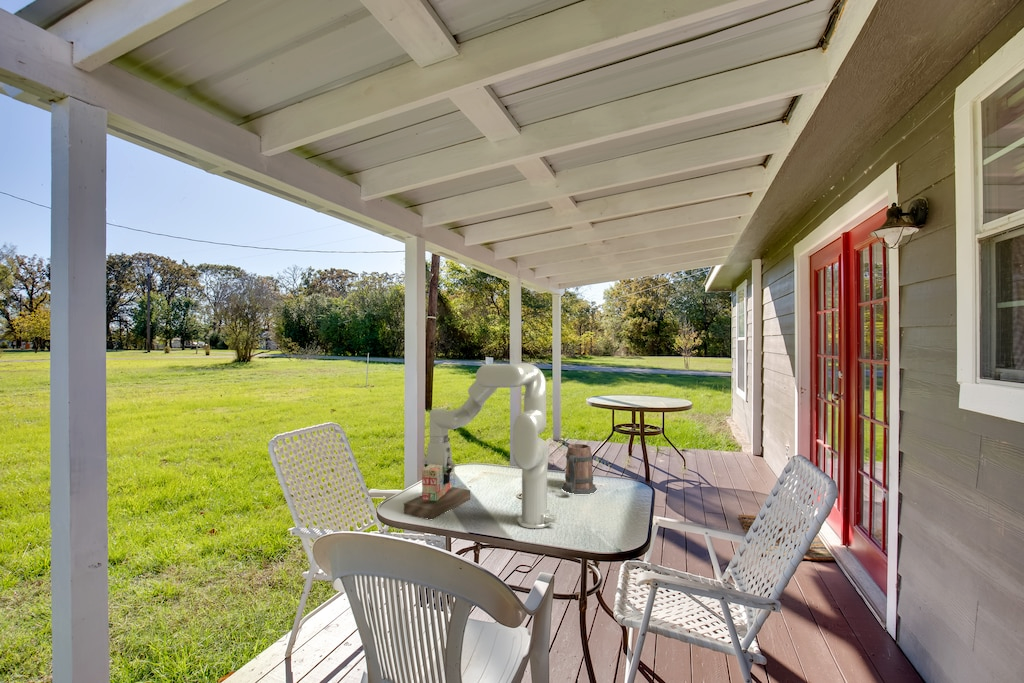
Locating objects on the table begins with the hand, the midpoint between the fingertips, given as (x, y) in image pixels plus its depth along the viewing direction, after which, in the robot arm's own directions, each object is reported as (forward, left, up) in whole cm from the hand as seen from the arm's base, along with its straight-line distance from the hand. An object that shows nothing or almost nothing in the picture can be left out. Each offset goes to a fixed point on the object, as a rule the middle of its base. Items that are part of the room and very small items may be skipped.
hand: (438, 481), depth 189 cm
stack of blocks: (0, -1, -5) cm, 5 cm away
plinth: (0, 0, -10) cm, 10 cm away
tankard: (-43, -46, -10) cm, 64 cm away
